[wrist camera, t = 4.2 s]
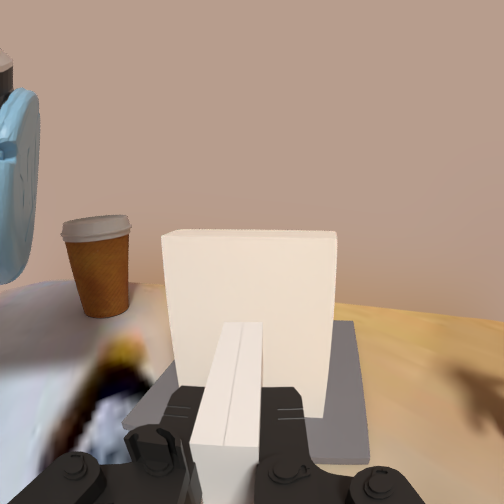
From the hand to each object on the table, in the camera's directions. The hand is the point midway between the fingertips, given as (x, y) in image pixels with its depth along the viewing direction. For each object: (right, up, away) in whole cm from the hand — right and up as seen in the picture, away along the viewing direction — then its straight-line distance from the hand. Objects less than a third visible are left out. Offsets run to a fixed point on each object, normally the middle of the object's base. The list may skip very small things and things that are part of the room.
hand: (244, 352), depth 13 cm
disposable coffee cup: (-19, -4, +27) cm, 33 cm away
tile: (0, -7, +9) cm, 11 cm away
